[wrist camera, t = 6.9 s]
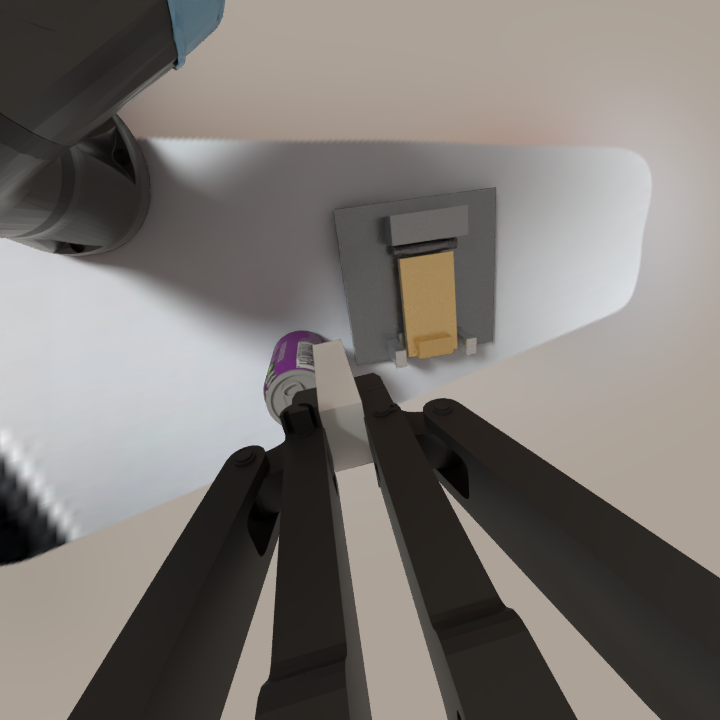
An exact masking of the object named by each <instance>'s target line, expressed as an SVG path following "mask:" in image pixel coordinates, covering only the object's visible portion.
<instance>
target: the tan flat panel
mask: <svg viewBox="0 0 720 720" xmlns="http://www.w3.org/2000/svg"><path fill="white" fill-rule="evenodd" d="M457 246H458V241H457V238H456V237H452V238H445V239H439V240H432V241H425V242H419V243H412V244H405V245H399V246H392V255H393V258H397V257H404V256H410V255H417V254H423V253H430V252H436V251H443V250H449V249H456V248H457ZM397 260H398V271H399V281H400V291H401V301H402V311H403V321H404V332H405V342H406V352H407V356H408V357H414V356H418V357H419V358H420V359H423V358H429V357H434V356H440V355H445V354H451V353H454V350H453V349H458V346H457V324H456V301H455V279H454V257H453V251H447V252H441V253H434V254H428V255H421V256H415V257H408V258H401V259H397Z"/></svg>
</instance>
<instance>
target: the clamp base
mask: <svg viewBox="0 0 720 720" xmlns="http://www.w3.org/2000/svg"><path fill="white" fill-rule="evenodd" d="M495 210H496V187H494V188H487V189H480V190H473V191H465V192H458V193H451V194H444V195H436V196H429V197H422V198H415V199H408V200H400V201H393V202H386V203H379V204H372V205H364V206H357V207H350V208H343V209H335V210H333V213H334V219H335V226H336V233H337V240H338V246H339V253H340V260H341V266H342V273H343V280H344V287H345V293H346V300H347V307H348V313H349V320H350V327H351V334H352V340H353V347H354V354H355V360H356V364H357V365H363V364H368V363H374V362H379V361H385V360H390V359H392V361H393V362H394V364H395V366H396V367H397V368H400V367H406V366H407V352H406V342H405V332H404V321H403V311H402V301H401V291H400V281H399V271H398V260H397V259H401V258H408V257H415V256H421V255H428V254H434V253H441V252H447V251H453V257H454V279H455V301H456V324H457V346H458V349H459V350H461V351H462V352H463V353H464V354H466V355H471V354H477V344H479V343H485V342H490V341H493V307H494V259H495ZM452 237H456V238H457V241H458V246H457V248H456V249H449V250H443V251H436V252H430V253H423V254H417V255H410V256H404V257H397V258H393V255H392V246H399V245H405V244H412V243H419V242H425V241H432V240H439V239H445V238H452Z"/></svg>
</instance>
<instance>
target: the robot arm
mask: <svg viewBox="0 0 720 720" xmlns="http://www.w3.org/2000/svg"><path fill="white" fill-rule="evenodd" d="M224 5H225V0H0V238H7V239H10V240H13V241H16V242H19V243H21V244H24V245H27V246H30V247H32V248H35V249H38V250H41V251H45V252H49V253H54V254H60V255H70V256H79V255H91V254H99V253H104V252H108V251H111V250H113V249H116V248H118V247H120V246H121V245H123V244H125V243H126V242H127V241H129V240H130V239H131V238H132V237H133V236H134V235H135V234H136V233H137V231H138V230H139V229H140V227H141V225H142V224H143V222H144V220H145V217H146V215H147V211H148V208H149V202H150V180H149V174H148V169H147V165H146V162H145V159H144V156H143V154H142V151H141V149H140V147H139V145H138V143H137V141H136V140H135V138H134V136H133V135H132V133H131V132H130V130H129V129H128V127H127V126H126V125H125V123H124V122H123V121H122V119H121V118H120V117H119V116H118V115H117V114H116V113H117V112H118V111H119V110H121V109H122V108H123V107H124V106H126V105H127V104H128V103H129V102H131V101H132V100H133V99H134V98H135V97H137V96H138V95H139V94H141V93H142V92H143V91H144V90H145V89H147V88H148V87H150V86H151V85H152V84H153V83H155V82H156V81H157V80H158V79H159V78H160V77H162V76H163V75H165V74H166V73H167V72H168V71H169V70H171V69H172V68H173V69H175V70H178V69H179V68H181V67H182V66H183V65H184V63H185V59H186V56H187V55H188V54H189V53H190V52H191V51H193V50H194V49H195V48H196V47H197V46H198V45H199V44H200V43H201V42H202V41H204V40H205V39H206V38H207V37H208V36H209V35H210V34H211V33H212V32H214V30H215V29H216V28H217V27H218V25H219V24H220V22H221V19H222V17H223V12H224ZM313 356H314V366H315V376H316V387H315V388H311V389H306V390H302V391H298V392H296V394H295V395H294V396H293V398H292V404H291V405H289V406H288V407H286V408H285V409H284V410H283V411H281V413H280V415H279V418H280V421H281V424H282V427H283V430H284V433H285V441H284V442H283V443H282V444H280V445H279V446H277V447H275V448H273V449H271V450H269V451H267V452H265V450H264V448H263V447H260V446H254V445H252V446H248V447H244V448H242V449H240V450H238V451H236V452H235V453H233V454H232V455H231V456H230V457H229V458H228V459H227V461H226V462H225V464H224V466H223V467H222V469H221V470H220V472H219V474H218V475H217V477H216V479H215V480H214V482H213V483H212V485H211V487H210V488H209V490H208V492H207V493H206V495H205V496H204V498H203V500H202V502H201V503H200V505H199V506H198V508H197V510H196V511H195V513H194V514H193V516H192V518H191V519H190V521H189V523H188V524H187V526H186V528H185V529H184V531H183V532H182V534H181V535H180V537H179V539H178V540H177V542H176V544H175V545H174V547H173V548H172V550H171V552H170V553H169V555H168V556H167V558H166V560H165V561H164V563H163V565H162V566H161V568H160V570H159V571H158V573H157V574H156V576H155V578H154V579H153V581H152V582H151V584H150V586H149V587H148V589H147V591H146V592H145V594H144V596H143V597H142V599H141V600H140V602H139V604H138V605H137V607H136V608H135V610H134V612H133V613H132V615H131V617H130V618H129V620H128V622H127V623H126V625H125V626H124V628H123V630H122V631H121V633H120V634H119V636H118V638H117V639H116V641H115V643H114V644H113V646H112V648H111V649H110V651H109V652H108V654H107V656H106V657H105V659H104V660H103V662H102V664H101V665H100V667H99V669H98V670H97V672H96V673H95V675H94V677H93V678H92V680H91V682H90V683H89V685H88V686H87V688H86V690H85V691H84V693H83V694H82V696H81V698H80V699H79V701H78V703H77V704H76V706H75V707H74V709H73V711H72V712H71V714H70V716H69V717H68V719H67V720H220V718H221V715H222V712H223V709H224V705H225V702H226V699H227V696H228V693H229V690H230V687H231V684H232V681H233V677H234V674H235V671H236V668H237V665H238V662H239V659H240V655H241V652H242V649H243V646H244V643H245V640H246V637H247V634H248V630H249V627H250V624H251V621H252V618H253V615H254V612H255V609H256V606H257V602H258V599H259V596H260V593H261V590H262V587H263V584H264V581H265V577H266V574H267V571H268V568H269V565H270V562H271V559H272V556H273V552H274V549H275V546H276V543H277V540H278V537H279V546H278V562H277V577H276V594H275V609H274V624H273V640H272V657H271V668H270V675H269V678H268V680H267V681H266V682H265V683H264V684H263V685H262V687H261V690H260V693H259V696H258V701H257V708H256V715H255V720H372V716H371V710H370V703H369V696H368V689H367V683H366V675H365V669H364V662H363V655H362V648H361V641H360V634H359V627H358V620H357V614H356V607H355V600H354V593H353V587H352V579H351V572H350V566H349V559H348V552H347V545H346V538H345V531H344V524H343V517H342V510H341V503H340V496H339V490H338V483H337V479H336V475H335V472H338V471H342V470H345V469H349V468H353V467H357V466H361V465H365V464H369V463H373V462H374V465H375V470H376V475H377V480H378V485H379V487H380V488H381V491H382V495H383V498H384V501H385V505H386V508H387V512H388V515H389V518H390V521H391V525H392V529H393V532H394V535H395V539H396V542H397V545H398V549H399V552H400V556H401V559H402V562H403V566H404V569H405V573H406V576H407V579H408V583H409V586H410V590H411V593H412V596H413V600H414V603H415V607H416V610H417V613H418V617H419V620H420V624H421V627H422V630H423V634H424V637H425V640H426V644H427V647H428V651H429V654H430V658H431V661H432V664H433V668H434V671H435V674H436V678H437V681H438V685H439V688H440V692H441V695H442V698H443V702H444V706H445V710H446V714H447V718H448V720H577V718H576V716H575V714H574V712H573V710H572V709H571V707H570V705H569V704H568V702H567V700H566V698H565V696H564V695H563V692H562V691H561V689H560V687H559V685H558V683H557V682H556V680H555V678H554V676H553V674H552V672H551V671H550V669H549V667H548V665H547V663H546V662H545V660H544V658H543V656H542V655H541V653H540V651H539V649H538V647H537V645H536V643H535V642H534V640H533V638H532V636H531V635H530V633H529V631H528V629H527V628H526V626H525V624H524V623H523V621H522V619H521V618H520V617H519V615H518V614H517V613H516V612H515V611H514V610H513V609H511V608H508V607H506V606H505V605H504V603H503V602H502V601H501V599H500V597H499V595H498V594H497V592H496V590H495V588H494V586H493V584H492V582H491V580H490V578H489V576H488V574H487V573H486V571H485V569H484V567H483V565H482V563H481V561H480V559H479V557H478V555H477V554H476V552H475V550H474V548H473V546H472V544H471V542H470V540H469V538H468V536H467V534H466V532H465V531H464V529H463V527H462V525H461V523H460V521H459V519H458V517H457V515H456V513H455V511H454V510H453V508H452V506H451V504H450V502H449V500H448V498H447V496H446V494H445V492H444V490H443V489H442V487H441V485H440V483H441V484H442V485H443V486H444V487H445V488H446V489H447V491H448V492H449V493H450V494H451V495H452V496H453V497H454V498H455V499H456V500H457V501H458V502H459V503H460V504H461V506H462V507H463V508H464V509H465V510H466V511H467V512H468V513H469V514H470V515H471V516H472V517H473V519H474V520H475V521H476V522H477V523H478V524H479V525H480V526H481V527H482V528H483V529H484V530H485V531H486V533H488V535H489V536H490V537H491V538H492V539H493V540H494V541H495V542H496V543H497V544H498V545H499V547H500V548H501V549H502V550H503V551H504V552H505V553H506V554H507V555H508V556H509V557H510V558H511V559H512V561H513V562H514V563H515V564H516V565H517V566H518V567H519V568H520V569H521V570H522V571H523V572H524V573H525V575H526V576H528V578H529V579H530V580H531V581H532V582H533V583H534V584H535V585H536V586H537V587H538V589H539V590H540V591H541V592H542V593H543V594H544V595H545V596H546V597H547V598H548V599H549V600H550V601H551V602H552V604H553V605H554V606H555V607H556V608H557V609H558V610H559V611H560V612H561V613H562V614H563V615H564V617H565V618H566V619H567V620H568V621H569V622H570V623H571V624H572V625H573V626H574V627H575V628H576V629H577V631H578V632H579V633H580V634H581V635H582V636H583V637H584V638H585V639H586V640H587V641H588V642H589V643H590V645H592V647H593V648H594V649H595V650H596V651H597V652H598V653H599V654H600V655H601V656H602V657H603V658H604V660H605V661H606V662H607V663H608V664H609V665H610V666H611V667H612V668H613V669H614V670H615V671H616V673H617V674H618V675H619V676H620V677H621V678H622V679H623V680H624V681H625V682H626V683H627V684H628V685H629V687H630V688H631V689H632V690H633V691H634V692H635V693H636V694H637V695H638V696H639V697H640V698H641V699H642V701H643V702H644V703H645V704H646V705H647V706H648V707H649V708H650V709H651V710H652V711H653V712H654V713H655V714H656V715H657V716H658V717H659V718H660V719H661V720H720V578H719V577H717V576H716V575H715V574H713V573H712V572H710V571H708V570H707V569H706V568H704V567H702V566H701V565H700V564H698V563H696V562H695V561H694V560H692V559H691V558H689V557H688V556H686V555H685V554H683V553H682V552H680V551H679V550H677V549H676V548H674V547H673V546H671V545H670V544H668V543H667V542H665V541H664V540H662V539H661V538H659V537H658V536H656V535H655V534H653V533H652V532H651V531H649V530H648V529H646V528H645V527H643V526H642V525H640V524H639V523H637V522H636V521H634V520H633V519H631V518H630V517H628V516H627V515H625V514H624V513H622V512H621V511H619V510H618V509H616V508H615V507H613V506H612V505H610V504H609V503H607V502H606V501H604V500H603V499H601V498H600V497H598V496H597V495H595V494H594V493H592V492H591V491H589V490H588V489H586V488H585V487H584V486H582V485H581V484H579V483H578V482H576V481H575V480H573V479H572V478H570V477H569V476H567V475H566V474H564V473H563V472H561V471H560V470H558V469H556V468H555V467H554V466H552V465H551V464H549V463H548V462H546V461H545V460H543V459H542V458H540V457H539V456H537V455H536V454H534V453H533V452H532V451H530V450H529V449H527V448H526V447H524V446H523V445H521V444H519V443H518V442H517V441H515V440H514V439H512V438H510V437H509V436H508V435H506V434H505V433H503V432H502V431H500V430H499V429H497V428H496V427H494V426H493V425H491V424H490V423H488V422H487V421H485V420H484V419H482V418H481V417H479V416H478V415H476V414H475V413H473V412H472V411H470V410H469V409H467V408H466V407H465V406H463V405H462V404H460V403H459V402H456V401H454V400H452V399H446V398H440V399H435V400H431V401H429V402H428V403H426V404H425V406H424V407H423V412H406V411H403V410H401V408H400V407H399V406H398V405H397V404H395V403H393V401H392V399H391V397H390V395H389V393H388V391H387V389H386V388H385V385H384V384H383V381H382V380H381V378H380V376H378V375H376V374H374V373H371V374H366V375H362V376H358V377H354V378H353V375H352V372H351V369H350V366H349V363H348V360H347V357H346V354H345V351H344V348H343V345H342V342H341V339H339V340H334V341H330V342H325V343H321V344H317V345H313ZM334 470H335V472H334ZM439 482H440V483H439Z"/></svg>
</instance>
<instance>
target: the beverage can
mask: <svg viewBox="0 0 720 720" xmlns="http://www.w3.org/2000/svg"><path fill="white" fill-rule="evenodd" d="M321 343H325V341H324V340H323V339H322V338H321V337H320V336H318V335H316V334H314V333H312V332H308V331H295V332H292V333H289V334H287V335H285V336H284V337H283V338H281V339H280V340H279V342H278V343H277V344H276V346H275V349H274V352H273V355H272V359H271V362H270V366H269V369H268V373H267V376H266V380H265V383H264V399H265V402H266V405H267V409H268V411H269V413H270V415H271V416H272V417H273V419H274V420H275V421H277V422H278V423H279V424H281V421H280V418H279V415H280V413H281V411H283V410H284V409H285V408H286V407H288V406H289V405H291V404H292V398H293V396H294V395H295V394H296V392H298V391H302V390H306V389H311V388H315V387H316V376H315V366H314V356H313V345H317V344H321ZM281 425H282V424H281Z"/></svg>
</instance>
